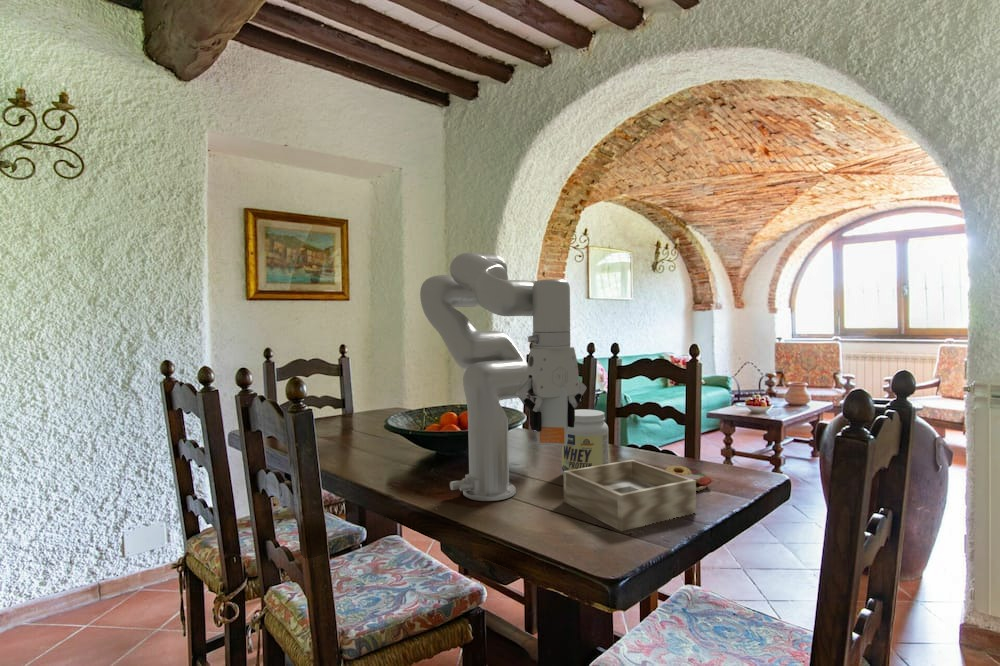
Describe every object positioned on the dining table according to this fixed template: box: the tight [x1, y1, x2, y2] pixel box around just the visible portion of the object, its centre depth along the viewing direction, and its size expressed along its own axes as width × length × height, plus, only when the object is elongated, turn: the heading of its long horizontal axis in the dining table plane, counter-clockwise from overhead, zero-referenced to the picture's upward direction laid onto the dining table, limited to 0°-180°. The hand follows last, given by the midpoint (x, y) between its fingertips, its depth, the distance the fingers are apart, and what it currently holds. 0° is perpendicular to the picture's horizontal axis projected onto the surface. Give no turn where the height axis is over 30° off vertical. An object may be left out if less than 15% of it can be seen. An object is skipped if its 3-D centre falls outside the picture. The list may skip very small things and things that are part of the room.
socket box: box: [563, 459, 697, 532], centre depth 121 cm, size 20×20×7 cm
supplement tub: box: [561, 409, 609, 477], centre depth 145 cm, size 12×12×17 cm
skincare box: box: [536, 386, 568, 447], centre depth 112 cm, size 6×4×12 cm
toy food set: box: [664, 465, 712, 492], centre depth 137 cm, size 13×13×3 cm
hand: (552, 427), depth 112 cm, fingers closed on skincare box, 7 cm apart
